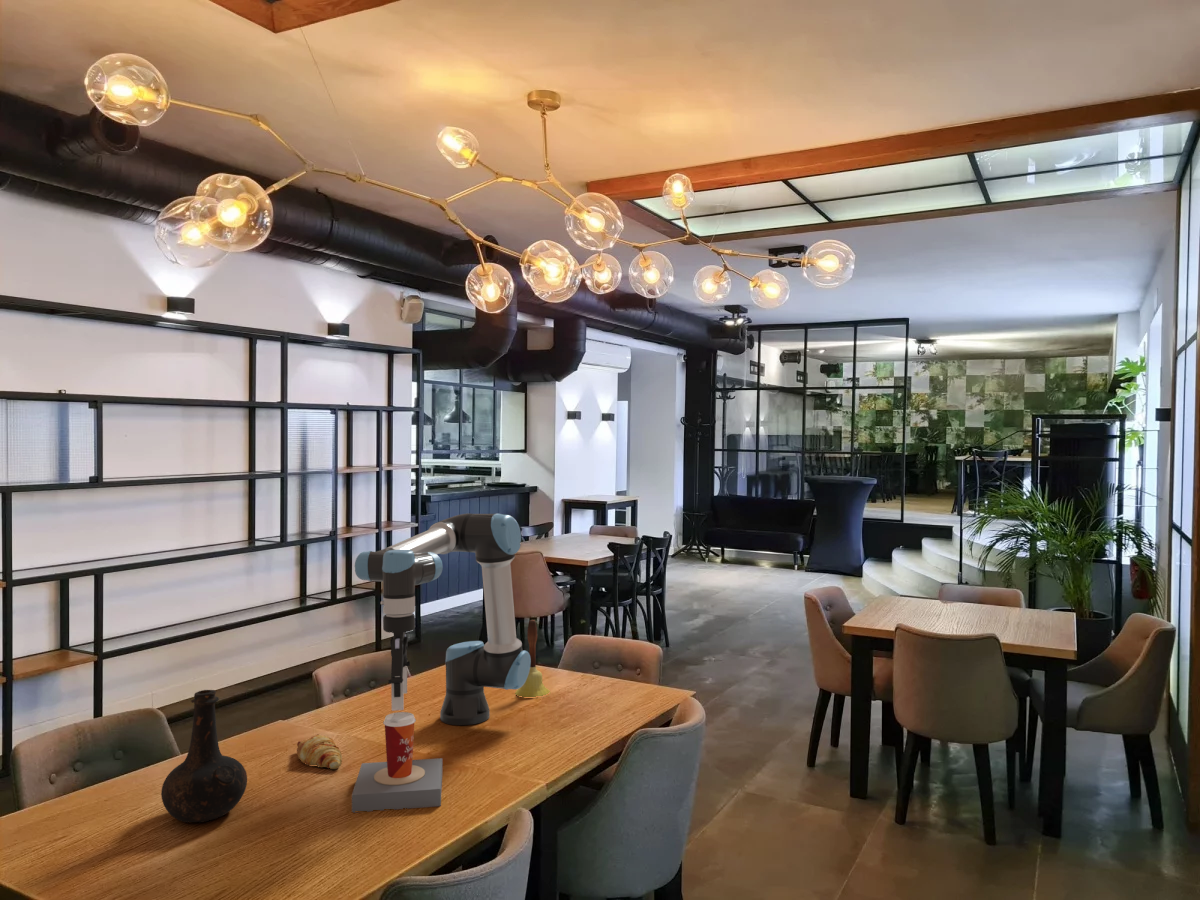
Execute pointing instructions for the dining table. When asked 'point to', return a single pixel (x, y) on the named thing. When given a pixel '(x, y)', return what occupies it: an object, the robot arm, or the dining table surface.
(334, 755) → the croissant
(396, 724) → the paper cup
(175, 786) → the glass bottle
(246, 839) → the dining table surface
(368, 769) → the plinth
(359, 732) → the dining table surface
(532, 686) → the handbell
